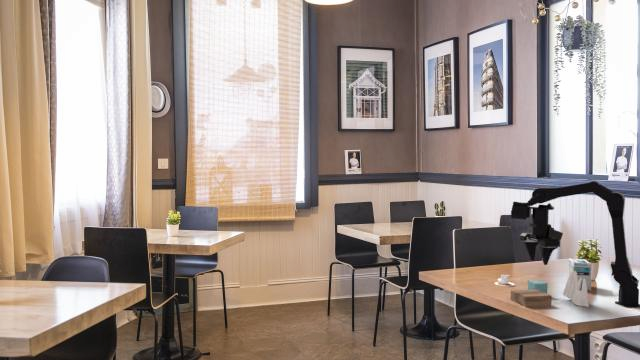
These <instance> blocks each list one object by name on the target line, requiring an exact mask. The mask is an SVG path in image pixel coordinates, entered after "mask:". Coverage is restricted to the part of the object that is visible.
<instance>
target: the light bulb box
mask: <svg viewBox="0 0 640 360" xmlns="http://www.w3.org/2000/svg"><path fill="white" fill-rule="evenodd" d="M571 271H573V273H574V271H576V272H577V279H578V281H579V279H580V278H582V281H583V278H584V279H585V280H586V286H587V291H592V263H591V262H589V261H588V260H587V259H586V258H585V259H584V258H568V275H569V274H570V272H571Z"/></svg>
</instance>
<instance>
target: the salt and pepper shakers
mask: <svg viewBox="0 0 640 360" xmlns="http://www.w3.org/2000/svg"><path fill="white" fill-rule="evenodd" d="M562 295H563V296H564V297H565V298H567V299H569V300H571V302H572V303H573V304H574V305H576V306H579V307H588V308H589V307H590V306H589V296H588V290H587V286H586V280H585V279H584V278H583V281H582V278H580V279H579V281H578V279H577V272H576V271H574V273H573V271H571V272H570V274H569V273H568V278H567V280H566V284H565V286H564V289H563V292H562Z"/></svg>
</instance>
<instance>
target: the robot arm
mask: <svg viewBox="0 0 640 360" xmlns="http://www.w3.org/2000/svg"><path fill="white" fill-rule="evenodd" d="M590 193H593V194H595V196H597V197H599V198H600V199H601V200H603V201H604V202H605V203H606V206H607V210H608V212H609V216H610V218H611V226H612V227H611V228H612V236H613V245H614V246H613V247H614V255H615V257H614V258H615V259H614V261H611V262H610V268H611V274H610V275H611V276H613V279H614V280H615V282H616V283H618V285H619V287H618V288H619V289H618V298H617V299H618V301H614V303H615V304H617V305H619V306H622V307H626V308H634V307H635V308H637V307H639V308H640V289H639V288H638V287H639V282H640V281H639V279H638V278H637V277H635V276H634V274H633V269H632V267H631V263H630V261H629V257H628V253H627V252H628V251H627V244H626V232H625V221H624V216H625V215H624V213H625V205H626V198H625V195H624V194H623V193H621V192H619V191H612V190H611V189H609V188H608V187H606V186H604V185H603V184H601V183H600V182H599V181H597V180H591V181H589V182H585V183H584V182H583V183H577V184H571V185H566V186H559V187H554V186H553V187H538V188H535V189H534V190H533V191H532V193H531V198H529V200H528V201H527V202H523V201H522V202H519V201H513V202H512V206H511V210H510V217H511V220H518V221H528V219H530V218H531V222H530V223H529V227H531V232H522V233H521V234H520V236H519V237H520V238H519V240H520V241H521V243H522V244H523V246H524V248H525V249H526V252H527V254H528V256H529V258H530V260H531V261H534V260H535V258H536V251H537V246H538V245H539V250H540V254H541V258H542V262H543V265H544V266H547V265H548V263H549V261H550V258H551V256H552V253H553V251H555V250H556V249H557V250H558V248H560V247H561V240H562V237H563V235H564V232H562V231H559V230H556V229H555V228H554V227H552V224H550V223H549V215H550V214H549V212H550V211H554V209H555V207H554V206H553V205H552V204H551V203H550V201H553V200H556V199H560V198H564V197H565V198H566V197H570V196H576V195H577V196H578V195H581V194H582V195H583V194H590ZM546 202H549V203H547V204H544V203H546ZM537 204H538V206H534V205H537Z"/></svg>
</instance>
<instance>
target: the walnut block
mask: <svg viewBox="0 0 640 360" xmlns="http://www.w3.org/2000/svg"><path fill="white" fill-rule="evenodd" d="M552 298H553V297H552V295H551V294H549V293H547V294H546V293H544V292H541V291H539V290H536V289H532V290H528V289H515V290H514V289H511V290H510V301H511V300H512V301H511V302H513V301H514V302H513V303H515V302H516V304H517V303H518V305H519V304H520V305H519V306H522V307H524V306H525V307H524V308H530V307H529V306H539V307H551V306H552Z"/></svg>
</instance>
